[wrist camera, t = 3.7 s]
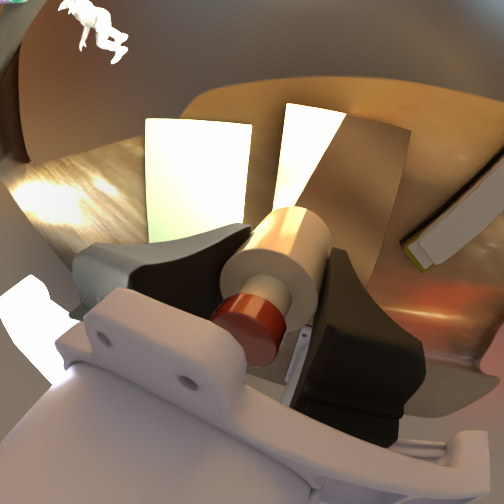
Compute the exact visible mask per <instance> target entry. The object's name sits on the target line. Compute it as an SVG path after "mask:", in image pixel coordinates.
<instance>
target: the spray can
mask: <svg viewBox="0 0 504 504" xmlns="http://www.w3.org/2000/svg"><path fill="white" fill-rule="evenodd" d="M27 1H28V0H0V4H12V3H25V2H27Z"/></svg>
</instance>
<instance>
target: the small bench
mask: <svg viewBox="0 0 504 504" xmlns="http://www.w3.org/2000/svg"><path fill="white" fill-rule="evenodd" d="M410 135H411V131H409V130H406V129H403V128H399V127H396V126H393V125H389V124H386V123H382V122H378V121H375V120H371V119H367V118H363V117H359V116H354V115H350V114H345V113H341V112H336V111H331V110H326V109H320V108H315V107H309V106H303V105H296V104H289V103H287V104H286V112H285V120H284V128H283V136H282V144H281V152H280V160H279V167H278V175H277V182H276V190H275V197H274V204H273V211H274V210H276V209H279V208H282V207H287V206H296V207H301V208H305V209H307V210H309V211H311V212H313V213H315V214H316V215H317V216H319V217H320V218H321V219H322V220H323V222H324V223H325V224H326V226H327V227H328V229H329V232H330V234H331V238H332V247H335V248H339V249H343V250H346V252H347V253H348V256H349V259H350V261H351V263H352V266H353V268H354V270H355V272H356V274H357V276H358V278H359V280H360V281H361V283H362V285H363V286H364V288H365V289H366V287H367V285H368V282H369V280H370V277H371V274H372V271H373V269H374V266H375V263H376V260H377V257H378V254H379V251H380V249H381V246H382V242H383V239H384V236H385V233H386V230H387V227H388V223H389V220H390V217H391V213H392V210H393V206H394V203H395V199H396V196H397V192H398V188H399V184H400V180H401V176H402V172H403V168H404V163H405V159H406V154H407V150H408V145H409V140H410Z"/></svg>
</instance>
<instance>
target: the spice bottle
mask: <svg viewBox="0 0 504 504" xmlns="http://www.w3.org/2000/svg"><path fill="white" fill-rule="evenodd" d="M331 249H332V238H331V234H330V232H329V229H328V227H327V226H326V224H325V223H324V222H323V220H322V219H321V218H320V217H319V216H317V215H316V214H315V213H313V212H311V211H309V210H307V209H305V208H301V207H296V206H287V207H282V208H279V209H276V210H274V211H272V212H271V213H270V214H268V215H267V216H266V217H265V218H264V219H263V221H262V222H261V223H260V224H259V225H258V226H257V227H256V229H255V230H254V231H253V232H252V233H251V234H250V235H249V237H248V238H247V239H246V240H245V241H244V242H243V243H242V245H241V246H240V247H239V248H238V249H237V250H236V251H235V253H234V254H233V255H232V256H231V257H230V258H229V260H228V261H227V262H226V263H225V265H224V267H223V269H222V271H221V275H220V290H221V294H222V297H223V299H224V301H223V302H222V303H221V305H220V306H219V308H218V309H217V310H216V312H215V313H214V315H213V316H212V317H211V319H210V320H209V321H211V322H212V323H214V324H216V325H218V326H219V327H221V328H223V329H225V330H226V331H228V332H229V333H230V334H231V335H232V336H233V337H234V338H235V339H236V341H237V342H238V343H239V344H240V345H241V346H242V347H243V349H244V352H245V356H246V360H247V367H263V366H266V365H268V364H270V363H271V362H273V361H274V360H275V359H276V357H277V356H278V353H279V351H280V348H281V346H282V343H283V341H284V338H285V336H286V333H290V332H293V331H296V330H299V329H301V328H302V327H304V326H305V325H306V324H308V323H309V322H310V321H311V319H312V318H313V317H314V315H315V313H316V311H317V307H318V304H319V300H320V296H321V292H322V288H323V284H324V279H325V273H326V268H327V264H328V260H329V256H330V252H331Z"/></svg>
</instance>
